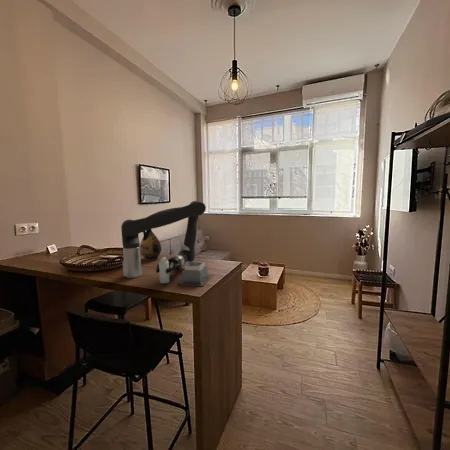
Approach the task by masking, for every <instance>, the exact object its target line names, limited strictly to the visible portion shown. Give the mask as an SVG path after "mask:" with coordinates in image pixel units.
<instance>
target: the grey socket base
mask: <svg viewBox="0 0 450 450" xmlns="http://www.w3.org/2000/svg"><path fill="white" fill-rule="evenodd" d="M183 266H184V267H183V268H184V269H183V270H182V271H181V274H182V275H181V276H182V278H181V280H180V281H179V282H178V283H177V286H186V287H187V286H188V287H199V286H200V287H204V286H205V285H206V284H207V283H208V282H210V281H209V280H211V278H212V277H213V275H212V274H208V266H207V265H206V262H204V261H192V262H187V263H186V264H184V265H183ZM200 287H199V288H200Z"/></svg>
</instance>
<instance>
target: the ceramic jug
mask: <svg viewBox="0 0 450 450" xmlns="http://www.w3.org/2000/svg"><path fill="white" fill-rule="evenodd" d="M152 230H153V229H149V230H146V231H144V232H142V234H143V236H142V239H141V241H140V242H139V243H140V256H142V257H143V258H144V260H145V261H155V260H158V259H159V256H160V254H161V252H162V245H161V244H162V243H161V242H160V240H159V239H158V237H157V236H156V234H155V233H154V232H153V231H152Z"/></svg>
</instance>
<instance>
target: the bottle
mask: <svg viewBox="0 0 450 450" xmlns="http://www.w3.org/2000/svg"><path fill="white" fill-rule="evenodd" d="M158 264H159V272H158V274H159V283H160V284H168V283H169V282H170V281H171V280H170V272H169V273H166V269H168V268H169V261H168V259H167V257H165V256H164V257H161V258H160V260H159V261H158Z"/></svg>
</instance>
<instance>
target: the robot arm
mask: <svg viewBox="0 0 450 450" xmlns="http://www.w3.org/2000/svg"><path fill="white" fill-rule="evenodd" d="M206 207H207V206H206V204H205V203H204V202H202V201H201V200H193V201H191V202H190V203H189V204H187V205H184V206H180V207H179V206H178V207H171V208H166V209H163V210H160V211H157V212H155V213H152V214H150V215H148V216H146V217H142V218H138V219H126V220H124V221H123V222H122V223H121V226H120V227H121V228H120V229H121V240H122V241H121V243H122V253H123V260H122V271H123V272H122V273H123V277H126V278H128V279H130V278H138V277H140V276H142V262H141V261H142V260H141V259H142V258H141V253H140V243H141V242H140V238H139V235H140V234H141V233H143V232H144V231H146V230H149V229H151V230H153V229H158V228H161V227H166V226H168V225H172V224H174V223H177V222H179V221H182V220H185V219H187V226H186V230H185V236H184V239H183V240H184V241H183V246H185V247H187V248H188V249H189V250H188V249H180V251H179V252H178V253H177V254H176V255H173V256H171V257H170V258H168V259H167V260H168V261H169V268H168V269H166V273H169V274H170V272H171V273H172V272H175V273H176V272H177V271H180V270H182V266H184V265H186V264H187V263H189V262H194V261H195V259H196V252H195V249H196V248H195V246H196V245H195V244H196V239H197V235H198V234H197V233H198V232H197V226H198V225H197V224H198V220H199V216H202V215H203V214H204V213H205V212H206ZM155 272H156V274H159V263H158V264H157V265H156V269H155Z"/></svg>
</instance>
